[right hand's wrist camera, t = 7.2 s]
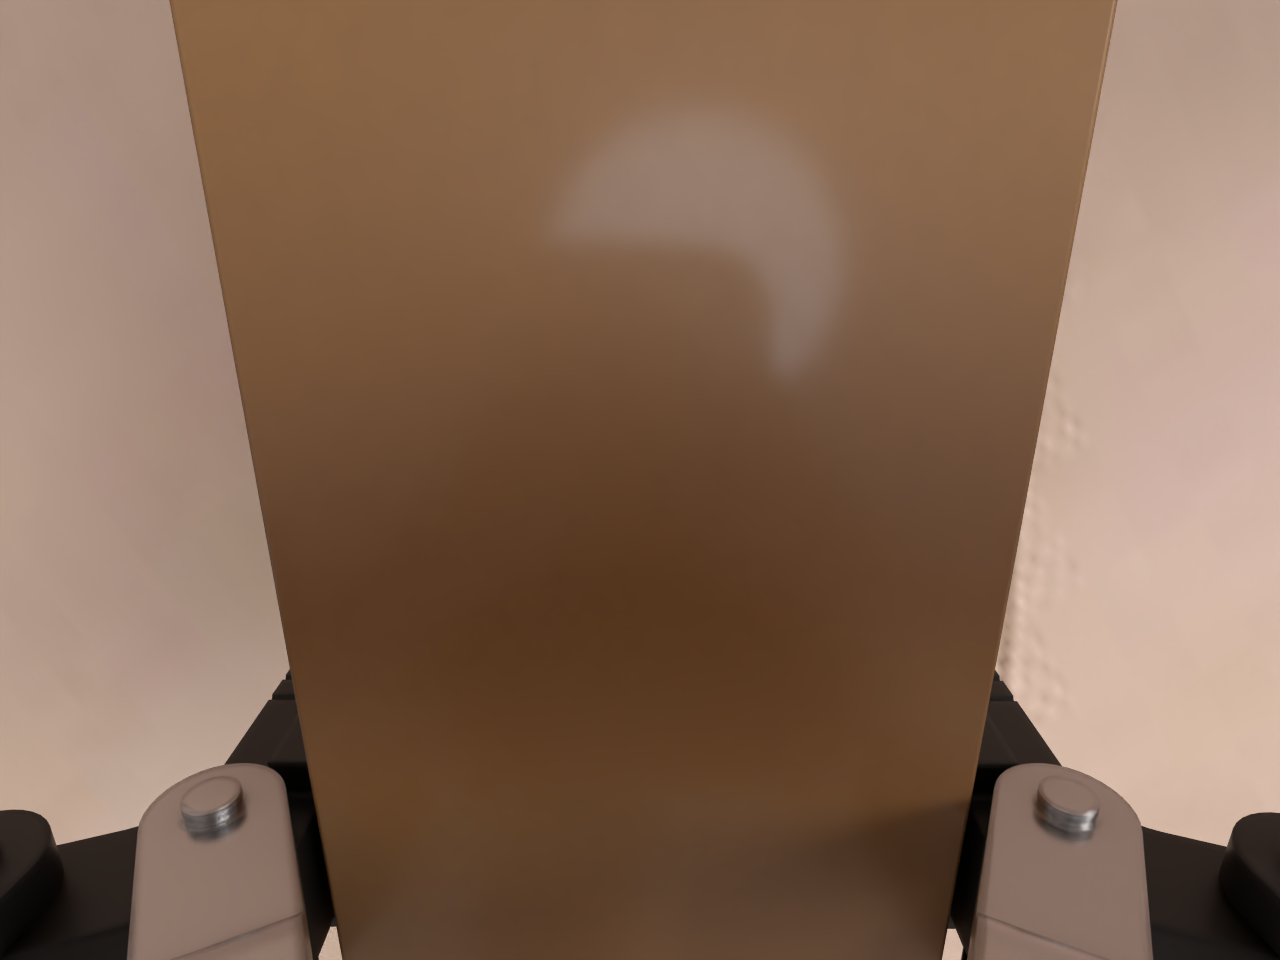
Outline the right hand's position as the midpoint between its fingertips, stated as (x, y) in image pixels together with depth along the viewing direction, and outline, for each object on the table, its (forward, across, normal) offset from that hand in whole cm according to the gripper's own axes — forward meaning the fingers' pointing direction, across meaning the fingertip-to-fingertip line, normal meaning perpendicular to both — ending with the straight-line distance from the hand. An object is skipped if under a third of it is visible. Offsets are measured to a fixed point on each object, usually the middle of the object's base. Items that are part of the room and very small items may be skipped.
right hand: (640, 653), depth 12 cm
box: (+7, 0, -9) cm, 11 cm away
